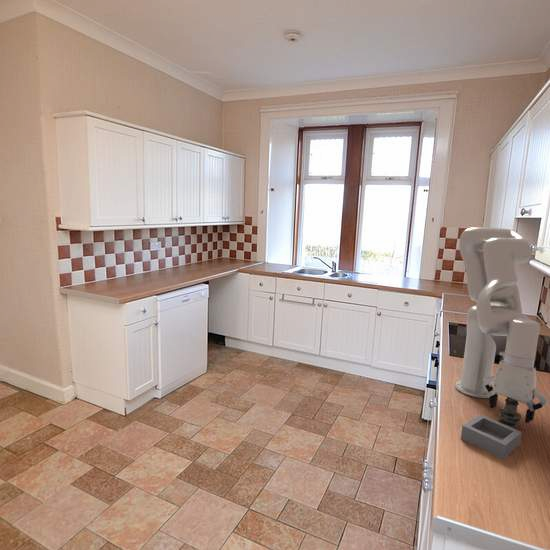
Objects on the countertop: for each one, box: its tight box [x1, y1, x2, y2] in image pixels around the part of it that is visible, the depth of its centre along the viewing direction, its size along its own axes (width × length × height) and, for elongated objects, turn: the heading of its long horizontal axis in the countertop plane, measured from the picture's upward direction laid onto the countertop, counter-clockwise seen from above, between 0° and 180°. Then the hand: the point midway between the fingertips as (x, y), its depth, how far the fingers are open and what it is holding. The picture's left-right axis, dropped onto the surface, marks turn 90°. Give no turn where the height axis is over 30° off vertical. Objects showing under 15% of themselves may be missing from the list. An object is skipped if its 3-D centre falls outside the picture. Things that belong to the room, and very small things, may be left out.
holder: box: [460, 414, 523, 460], centre depth 105 cm, size 11×11×4 cm
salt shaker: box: [497, 397, 522, 430], centre depth 114 cm, size 6×6×12 cm
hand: (509, 414), depth 115 cm, fingers open, 9 cm apart
